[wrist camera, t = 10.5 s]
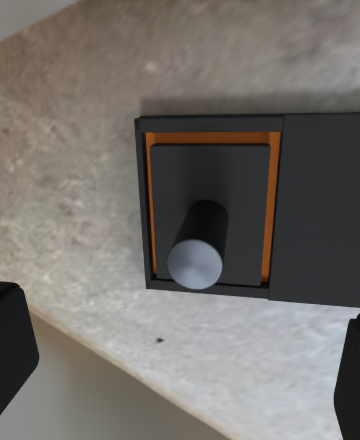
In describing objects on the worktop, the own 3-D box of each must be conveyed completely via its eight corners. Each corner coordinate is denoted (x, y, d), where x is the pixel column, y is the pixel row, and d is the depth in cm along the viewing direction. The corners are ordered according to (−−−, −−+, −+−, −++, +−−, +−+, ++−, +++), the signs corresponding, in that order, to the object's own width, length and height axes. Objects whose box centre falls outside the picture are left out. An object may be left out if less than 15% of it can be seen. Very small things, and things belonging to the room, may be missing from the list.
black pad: (155, 142, 20) (111, 165, 13) (269, 142, 19) (283, 167, 12) (161, 268, 23) (128, 337, 17) (259, 275, 22) (266, 353, 15)
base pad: (142, 115, 21) (133, 117, 19) (418, 111, 18) (435, 112, 16) (152, 277, 25) (145, 290, 23) (376, 294, 22) (387, 310, 20)
